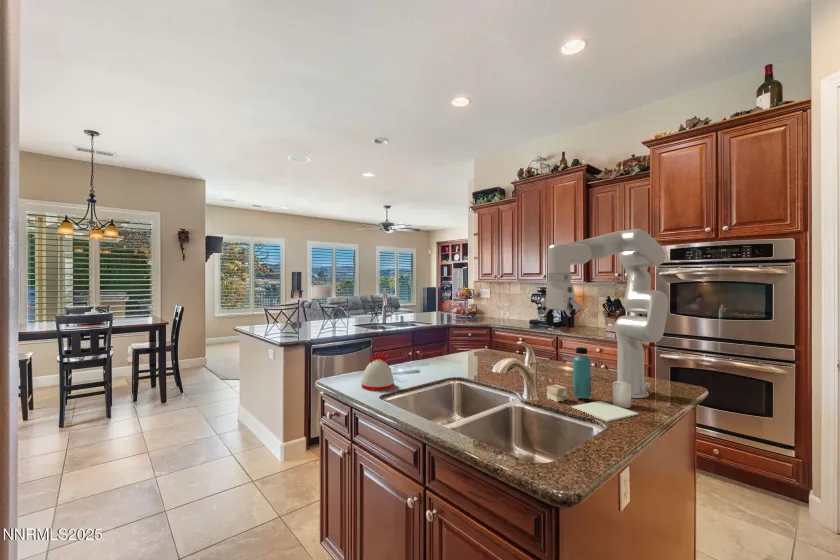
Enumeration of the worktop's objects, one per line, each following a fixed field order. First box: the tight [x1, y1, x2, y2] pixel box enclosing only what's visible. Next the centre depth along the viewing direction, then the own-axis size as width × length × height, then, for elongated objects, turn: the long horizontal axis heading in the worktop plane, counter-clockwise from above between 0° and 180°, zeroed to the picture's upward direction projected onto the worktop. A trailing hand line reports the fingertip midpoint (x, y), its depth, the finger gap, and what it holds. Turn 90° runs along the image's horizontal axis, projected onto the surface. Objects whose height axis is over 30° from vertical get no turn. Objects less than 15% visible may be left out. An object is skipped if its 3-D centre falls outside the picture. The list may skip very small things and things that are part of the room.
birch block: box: [546, 384, 567, 403], centre depth 148 cm, size 5×5×5 cm
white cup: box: [612, 380, 632, 409], centre depth 141 cm, size 6×6×8 cm
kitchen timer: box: [361, 351, 395, 392], centre depth 166 cm, size 14×14×15 cm
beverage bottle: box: [572, 346, 592, 399], centre depth 148 cm, size 6×7×20 cm
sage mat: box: [570, 400, 639, 423], centre depth 134 cm, size 15×15×1 cm
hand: (559, 326), depth 138 cm, fingers open, 9 cm apart
